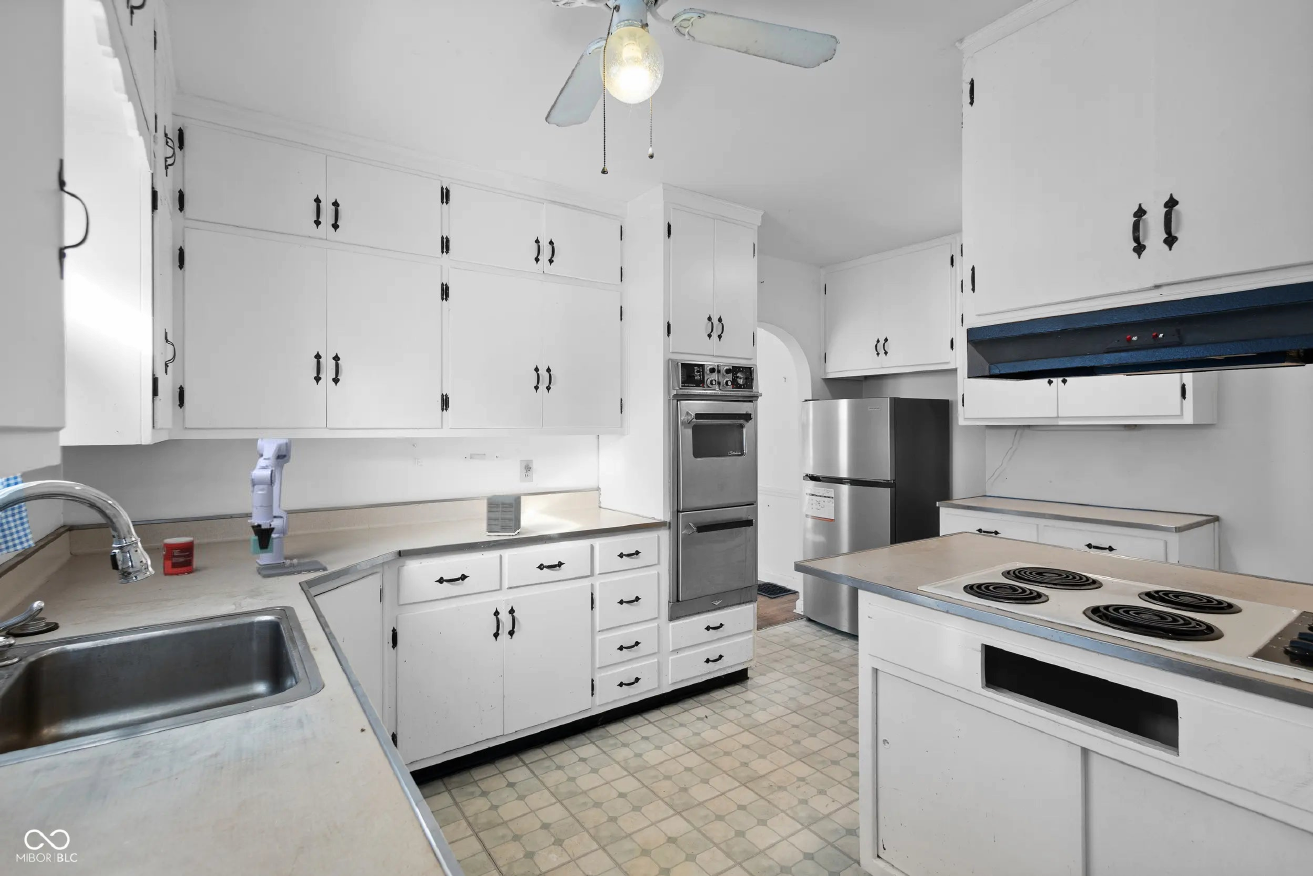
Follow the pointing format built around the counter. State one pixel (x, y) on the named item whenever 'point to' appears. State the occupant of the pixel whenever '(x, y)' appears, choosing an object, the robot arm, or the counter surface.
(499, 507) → the supplement box
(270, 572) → the stub plate
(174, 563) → the canned food
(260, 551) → the housing cap
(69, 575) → the counter surface
